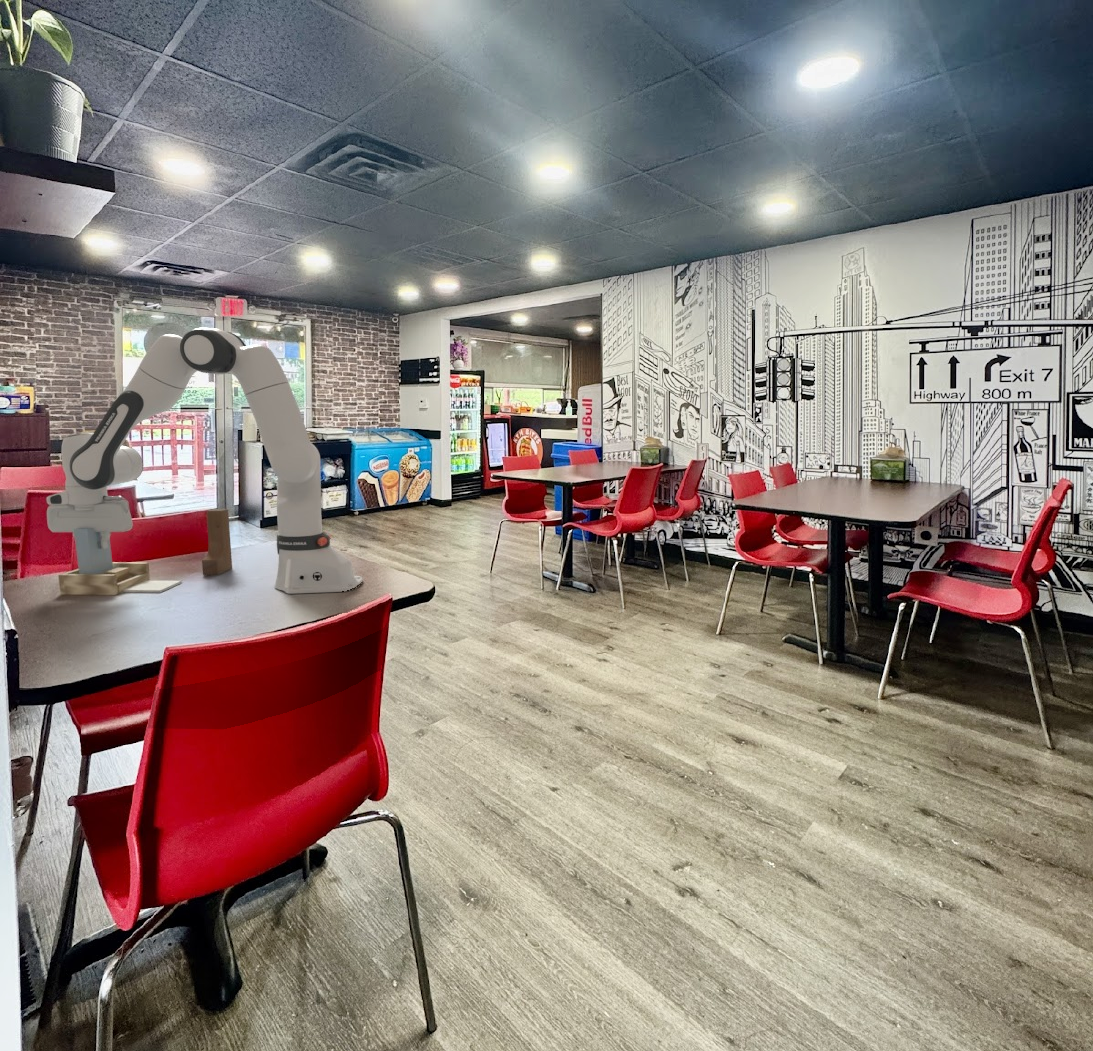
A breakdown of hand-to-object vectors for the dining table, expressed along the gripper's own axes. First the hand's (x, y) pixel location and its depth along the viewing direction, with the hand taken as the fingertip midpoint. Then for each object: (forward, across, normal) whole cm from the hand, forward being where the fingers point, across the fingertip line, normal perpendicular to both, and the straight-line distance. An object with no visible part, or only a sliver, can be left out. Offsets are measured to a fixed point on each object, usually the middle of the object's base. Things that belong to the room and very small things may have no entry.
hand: (93, 548), depth 176 cm
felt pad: (+11, -14, 0) cm, 18 cm away
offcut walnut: (+11, -6, 0) cm, 12 cm away
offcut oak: (+8, -5, 0) cm, 10 cm away
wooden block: (+11, -23, -18) cm, 31 cm away
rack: (+10, -3, 0) cm, 11 cm away
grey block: (+7, 0, 0) cm, 7 cm away
